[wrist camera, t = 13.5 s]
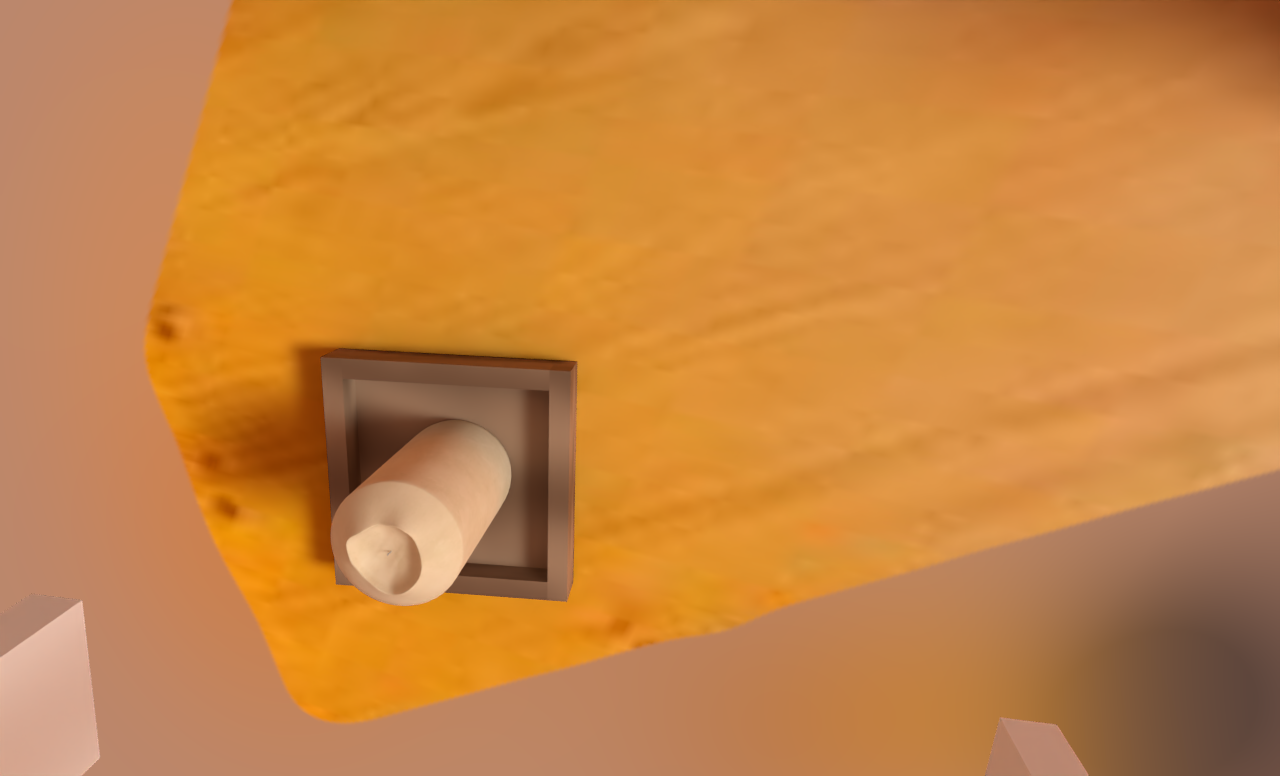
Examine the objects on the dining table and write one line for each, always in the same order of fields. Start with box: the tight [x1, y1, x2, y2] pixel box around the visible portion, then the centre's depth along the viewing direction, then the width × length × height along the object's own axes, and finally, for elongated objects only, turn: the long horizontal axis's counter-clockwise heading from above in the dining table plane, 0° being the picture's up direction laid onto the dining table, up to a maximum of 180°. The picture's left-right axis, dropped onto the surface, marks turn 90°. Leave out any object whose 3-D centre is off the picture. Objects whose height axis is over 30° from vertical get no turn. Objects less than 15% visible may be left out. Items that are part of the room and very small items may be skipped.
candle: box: [331, 420, 511, 606], centre depth 35 cm, size 6×6×10 cm
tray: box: [321, 348, 577, 602], centre depth 40 cm, size 12×12×2 cm
